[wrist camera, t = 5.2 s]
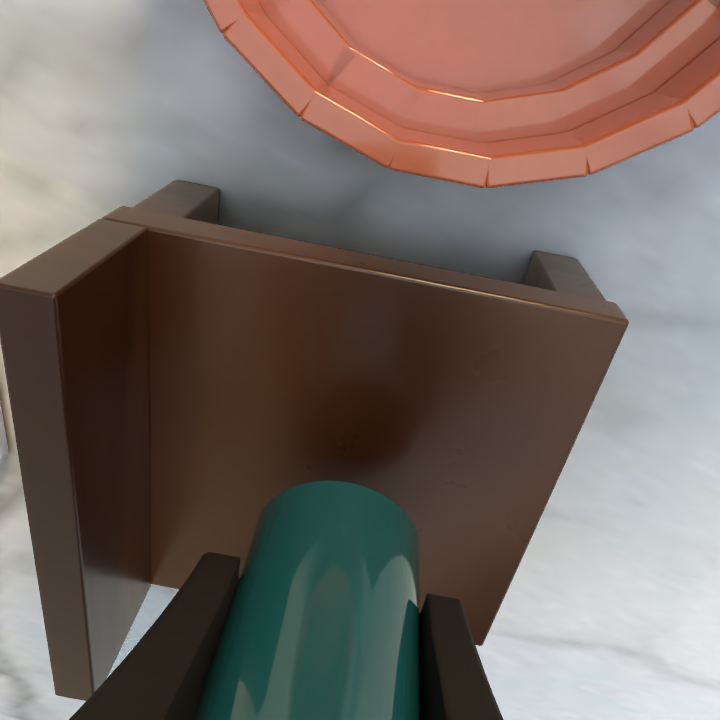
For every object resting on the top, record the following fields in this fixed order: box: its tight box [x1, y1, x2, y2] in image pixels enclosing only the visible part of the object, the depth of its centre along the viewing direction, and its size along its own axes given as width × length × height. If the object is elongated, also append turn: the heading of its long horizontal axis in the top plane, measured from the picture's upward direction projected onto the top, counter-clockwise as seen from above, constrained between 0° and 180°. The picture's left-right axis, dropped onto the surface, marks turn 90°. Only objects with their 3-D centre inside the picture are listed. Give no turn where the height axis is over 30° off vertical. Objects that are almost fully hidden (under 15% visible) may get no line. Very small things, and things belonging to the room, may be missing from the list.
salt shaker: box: [192, 480, 420, 720], centre depth 10 cm, size 4×4×6 cm
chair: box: [0, 180, 629, 701], centre depth 15 cm, size 11×11×8 cm
